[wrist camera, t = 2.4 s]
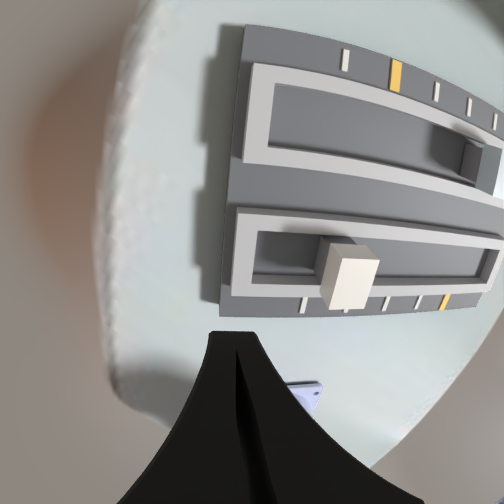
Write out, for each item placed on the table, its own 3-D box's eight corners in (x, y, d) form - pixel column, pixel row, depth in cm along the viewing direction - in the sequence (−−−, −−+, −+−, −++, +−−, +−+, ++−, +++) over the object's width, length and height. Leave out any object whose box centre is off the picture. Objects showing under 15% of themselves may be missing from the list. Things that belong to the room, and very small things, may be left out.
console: (468, 299, 22) (482, 313, 20) (219, 304, 19) (219, 327, 17) (517, 127, 15) (536, 132, 13) (243, 30, 12) (247, 18, 10)
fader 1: (341, 276, 17) (363, 308, 15) (310, 275, 17) (328, 309, 14) (353, 232, 16) (380, 259, 13) (320, 230, 16) (342, 258, 13)
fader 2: (475, 185, 16) (509, 201, 13) (457, 180, 15) (492, 196, 12) (483, 146, 15) (518, 157, 12) (465, 138, 14) (502, 148, 11)
